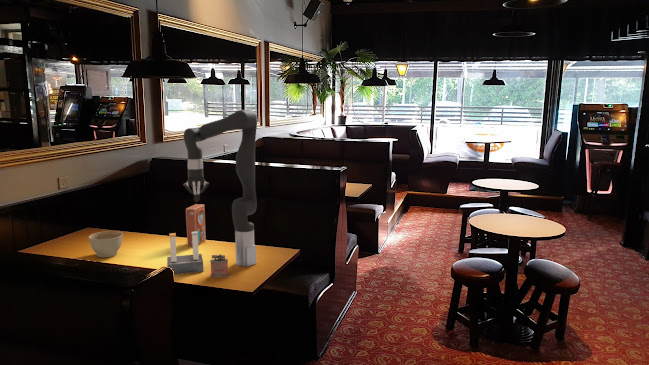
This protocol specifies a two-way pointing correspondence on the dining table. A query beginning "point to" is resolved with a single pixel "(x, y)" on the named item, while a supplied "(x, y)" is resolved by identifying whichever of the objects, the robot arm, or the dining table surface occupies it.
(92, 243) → the planter bowl
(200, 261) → the grey rectangular base
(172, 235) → the handle
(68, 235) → the dining table surface
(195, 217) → the control panel
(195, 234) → the handle
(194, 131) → the robot arm
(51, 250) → the dining table surface
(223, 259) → the lighter
